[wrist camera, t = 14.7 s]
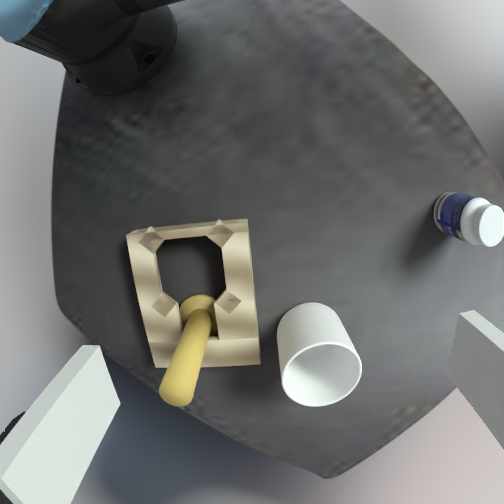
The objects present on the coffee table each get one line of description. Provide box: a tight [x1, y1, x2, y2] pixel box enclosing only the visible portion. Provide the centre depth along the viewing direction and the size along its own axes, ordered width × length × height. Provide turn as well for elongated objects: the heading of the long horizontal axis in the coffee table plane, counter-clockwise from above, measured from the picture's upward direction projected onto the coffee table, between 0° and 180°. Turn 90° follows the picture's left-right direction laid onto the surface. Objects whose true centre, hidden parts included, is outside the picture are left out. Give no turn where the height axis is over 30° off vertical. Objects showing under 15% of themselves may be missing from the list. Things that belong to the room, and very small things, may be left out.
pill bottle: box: [434, 192, 504, 247], centre depth 32 cm, size 6×6×10 cm
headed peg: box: [159, 294, 219, 406], centre depth 33 cm, size 6×6×16 cm
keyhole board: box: [126, 218, 261, 368], centre depth 39 cm, size 19×14×3 cm
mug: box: [277, 303, 362, 407], centre depth 37 cm, size 9×12×11 cm
